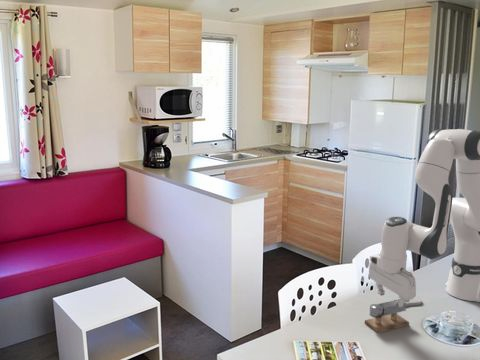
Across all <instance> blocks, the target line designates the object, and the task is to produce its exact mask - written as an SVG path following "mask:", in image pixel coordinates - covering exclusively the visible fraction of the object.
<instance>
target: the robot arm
mask: <svg viewBox="0 0 480 360" xmlns="http://www.w3.org/2000/svg"><path fill="white" fill-rule="evenodd" d="M454 160H455V176H456V177H455V178H456V188H457V190H458V192H459V193H460V194H461V195H462V196H463V197H454V193H453V192H454V191H453V187H452V186H450V183H449V177H450V173H451V170H452V166H453V162H454ZM414 180H415V183H416V185H417V186H418V187H419V188H420V190H422V191H423V192H425V193H426V194H427V195H428V196H430V198H432V199H433V200H434V203H435V208H434V213H433V219H432V225H431V227H428V226H427V227H426V226H423V225H419V224H416V223H414V222H409V221H408V220H407V219H406V218H405V217H403V216H392V217H391V216H390V217H388V218H387V219H385V221H384V223H383V226H382V229H381V237H380V238H381V239H380V244H381V250H380V253H379V254H374V255H371V256H370V257H369V261H370V263H369V266H368V276H369V278H370V279H371V280H372V281H374V282H376V283H375V284H376V288H377V294H378V295H379V296H384V295H385V294H386V293H385V291H386V290H385V289H384V288H386V289H387V290H389V291H391V292H392V293H394V294H395V295H397V296H398V298H399V299H400V300H399V301H396V303H397V304H396V305H397V306H399V307H402V306H403V302H404V301H405V300H410V299H413V300H414V298H416V295H417V286H416V285H417V284H416V278H415V276H414V275H413V273H412V272H411V271H408V270H407V261H408V255H407V251H408V252H412V253H415V254H418V255H420V256H423V257H424V258H427V259H429V260H435V259H438V258H440V257H441V256H443V255H444V254H445V253H446V250H447V249H448V232H449V225H451V228H452V231H453V236H454V254H453V257H452V261H451V268H450V269H449V274H448V278H447V281H445V286H446V287H445V291H446V293H447V294H448V295H450V296H452V297H453V298H454V297H455V298H456V299H460V300H463V301H469V302H477V303H480V234H479V233H480V131H479V130H469V129H465V128H457V129H451V128H449V129H446V128H445V129H444V128H439V129H435V130H433V131H432V132H431V133H429V135H428V137H427V139H426V146H425V147H424V150H423V151H422V153H421V155H420V158H419V160H418V162H417V165H416V167H415V172H414Z"/></svg>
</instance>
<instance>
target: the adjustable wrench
mask: <svg viewBox="0 0 480 360" xmlns="http://www.w3.org/2000/svg"><path fill="white" fill-rule="evenodd" d="M404 302H406V307H410V306H412V307H413V306H420V305H421V304H422V298H421V297H418V298H417V299H414V298H413V299H410V300H405V301H404ZM382 316H383V315H382Z"/></svg>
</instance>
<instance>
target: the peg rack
mask: <svg viewBox="0 0 480 360" xmlns="http://www.w3.org/2000/svg"><path fill="white" fill-rule="evenodd" d="M364 324H365V325H366V326H367V327H368V328H370V329H372V330H373V331H374V332H375V331H376V332H375V333H377V334H378V333H379V334H380V333H382V332H386V331H390V330H395V329H398V328H403V327H406V326H409V325H410V322H409V321H408V320H407V319H405V318H404V317H402V315H401V316H400V315H399V314H398V313H393V314H389V315H385V316H382V317H381V318H374V317H372V318H368V319H364Z"/></svg>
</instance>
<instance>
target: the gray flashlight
mask: <svg viewBox="0 0 480 360" xmlns="http://www.w3.org/2000/svg"><path fill="white" fill-rule="evenodd" d="M399 300H400V298H399V299H395V300H389V301H386V302H381V303H372V304H370V305H369V316H370V317H372V318H381V317H382V315H383V316H385V315H389V314H393V313H397V314H398V313H401V312H405V311H406V310H407V306H406V302H403V306H402V307H399V306H397V305H396V304H397V303H396V301H399Z"/></svg>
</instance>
